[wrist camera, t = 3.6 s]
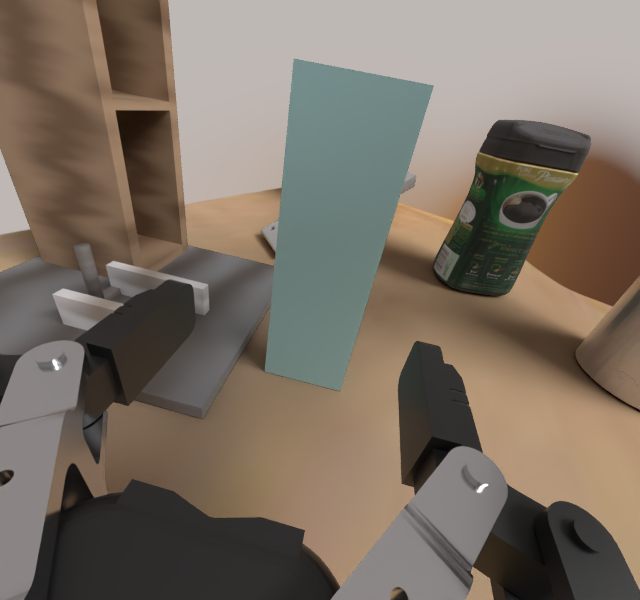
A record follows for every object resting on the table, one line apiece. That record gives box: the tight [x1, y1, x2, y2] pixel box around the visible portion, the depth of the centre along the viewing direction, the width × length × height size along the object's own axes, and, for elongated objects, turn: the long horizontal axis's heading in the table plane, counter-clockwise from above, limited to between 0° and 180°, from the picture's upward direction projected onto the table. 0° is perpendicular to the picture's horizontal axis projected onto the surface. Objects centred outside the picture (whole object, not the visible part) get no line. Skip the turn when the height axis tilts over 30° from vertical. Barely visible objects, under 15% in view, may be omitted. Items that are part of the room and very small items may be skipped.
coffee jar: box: [433, 120, 591, 296], centre depth 36 cm, size 10×8×19 cm
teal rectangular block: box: [265, 59, 433, 391], centre depth 18 cm, size 6×4×18 cm, turn 79°
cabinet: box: [0, 0, 274, 419], centre depth 19 cm, size 21×18×28 cm
